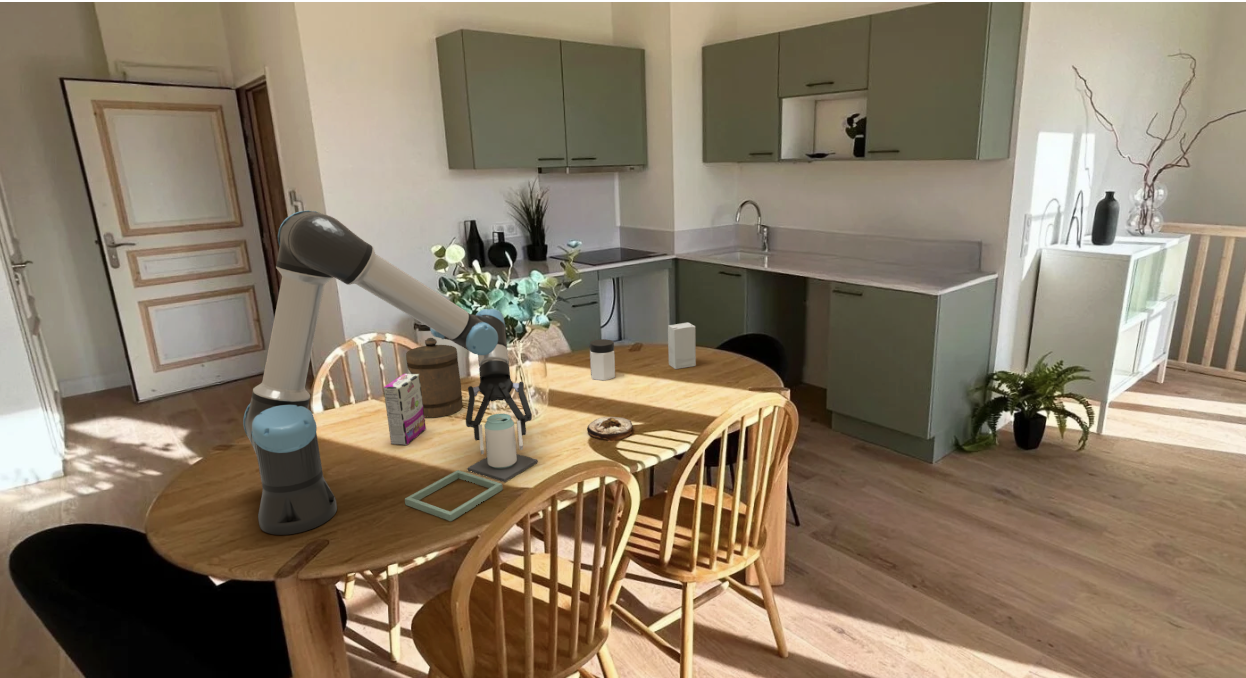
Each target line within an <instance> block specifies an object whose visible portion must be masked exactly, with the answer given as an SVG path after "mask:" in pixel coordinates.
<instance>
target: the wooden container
mask: <svg viewBox="0 0 1246 678" xmlns="http://www.w3.org/2000/svg"><path fill="white" fill-rule="evenodd" d="M437 341H438V340H437V339H436V338H433V337H428V338H426V340H424V344H425V345H422V346H418V347H415V348H412V349H409V350H408V351H407V352H406V353H405V357H406V364H407V367H406V368H407V374H419V378H420V386H421V394H422V402H423V410H424V417H425V418H428V419H429V418H431V419H432V418H442V417H445V416H449V415H453V414H455V413H457V412H459V411H460V410H461V409H462V408H463V407H464V405H463V403H464V402H463V393H462V383H461V375H460V367H459V356H458V349H457V348H456V346H454V345H447V344H437V343H438V342H437Z"/></svg>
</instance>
